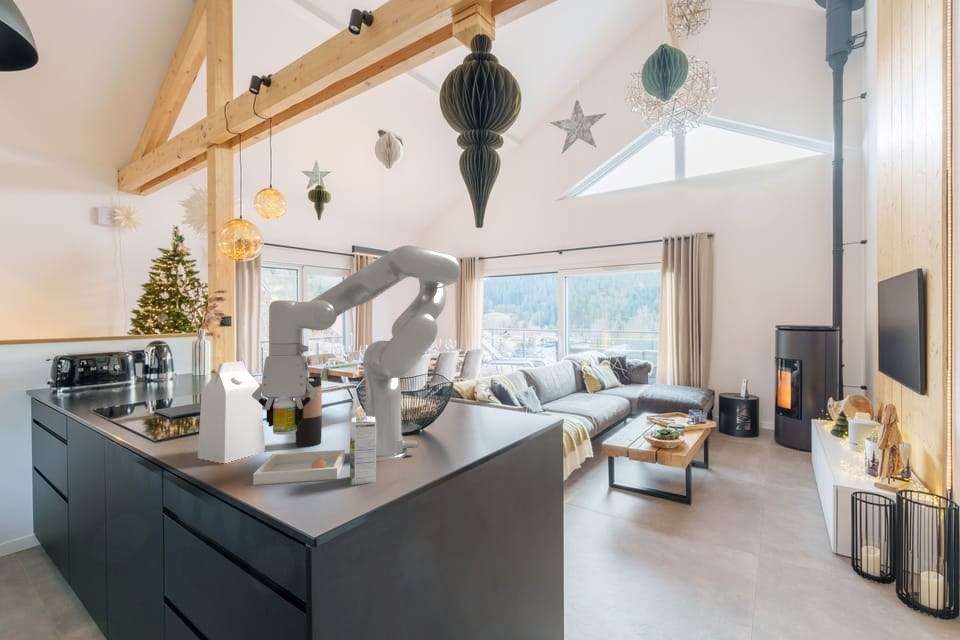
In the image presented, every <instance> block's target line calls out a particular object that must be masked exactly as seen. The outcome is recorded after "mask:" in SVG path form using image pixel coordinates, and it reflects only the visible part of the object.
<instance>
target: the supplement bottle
mask: <svg viewBox="0 0 960 640" xmlns="http://www.w3.org/2000/svg"><path fill="white" fill-rule="evenodd" d="M275 400H277V401H275V402H274V404H273V426H272V433H273V434H274V435H278V436H279V435H281V436H282V435H291V434H294V433H296V431H297V426H296V425H295V410H296V409H297V404H296V401H295V398H294V397H285V396H282V397H278V398H276V399H275Z"/></svg>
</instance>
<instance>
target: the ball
mask: <svg viewBox="0 0 960 640" xmlns="http://www.w3.org/2000/svg"><path fill="white" fill-rule="evenodd" d="M325 467H326V463H325V461H324V460H323V459H316V460H315V461H314V462H313V463H312V469H314V468H325Z"/></svg>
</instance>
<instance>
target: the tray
mask: <svg viewBox="0 0 960 640" xmlns="http://www.w3.org/2000/svg"><path fill="white" fill-rule="evenodd" d="M316 459H323V460H324V461H325V463H326V467H325V468H314V469H312V463H313V462H314V461H315V460H316ZM345 461H346V449H336V450H335V449H334V450H319V451H318V450H317V451H305V452H304V451H303V452H301V451H300V452H288V453H285V452H284V453H273V454H271V455H270V456H269V458H267V459H266V460H265V461H264V462H263V463H262V465H260V467H259V468H258V469H257V470H256V471H255V472H254V473H253V475H252V476H253V477H252V479H253V482H252V484H253V486H258V485H271V484H272V485H273V484H284V483H285V484H286V483H287V484H288V483H300V482H312V481H326V480H329V481H330V480H337V479H338V478H339V475H340V473H341V470H342V468H343V465H344V463H345Z"/></svg>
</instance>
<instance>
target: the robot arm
mask: <svg viewBox="0 0 960 640" xmlns="http://www.w3.org/2000/svg"><path fill="white" fill-rule="evenodd" d="M461 273H462V268H461V264H460V263H459V261H458V260H457V259H456V258H455V257H454V256H452V255H450V254H448V253H443V252H439V251H435V250H431V249H427V248H423V247H419V246H415V245H409V244H408V245H407V244H406V245H402V246H400V247H397V248H395V249H392V250H390V251H388V252H386V253H385V254H383V255H382V256H380V257H378V258H377V259H375V260H373V261H372V262H370V263H369V264H367V265H365V266H363V268H360V269H359V270H357V271H356V272H353V273H352V274H350V275H349V276H348V277H346V278H344V280H342V281H341V282H339V283H337V284H336V285H334V286H332V287H331V288H329V289H328V290H325V291H324V292H323V293H321V294H319V295H317V296H315V298H313V299H311V300H310V301H299V300H298V301H297V300H288V299H287V300H286V299H285V300H273V301H271V302H270V303H269V306H268V307H269V308H268V356H265V360H264V364H263V370H262V376H261V378H262V380H261V384H259V387H258V388H257V390H256V391H255V392H254V393H253V394H252V397H253V398H254V399H256V400H257V401H258V402H259V403H260V404H261V405H262V408H264V409H265V410H266V423H268V427H273V404H274V403H275V402H276V400H277V399H276V398H278V397H282V396H285V397H294V398H293V399H294V401H296V404H297V409H296V410H295V425H296V426H297V425H300V424H301V421H303V419H304V406H305V405H306V404H307V403H308V402H309V401H310V400H312V399H313V398H314V397H315V396H316V395H317V394H318V392H317V391H316V390H315V389H314V388H313V386H312V385H311V384H310V383H309V378H308V377H309V368H308V366H309V365H308V361H307V357H306V355H303V354H304V353H305V352H309V346H308V345H304V343H303V329H306V330H307V329H308V330H311V331H312V330H313V331H326V330H328V329H330V328H331V327H333V325H334V324H336V321H337V317H339V316H340V315H342V314H345V312H347V311H349V310H351V309H353V308H355V307H358V306H361V305H363V304H367V303H368V302H370V301H373V300H374V299H376V298H377V297H379V296H381V295H382V294H383V293H385V292H386V291H388V290H389V289H391V288H392V287H394V286H395V285H397V284H399V282H402V281H403V280H404V279H406V278H407V279H408V278H410V277H411V278H415V279H418V282H419V292H418V294H417V296H416V297H415V298H414V300H413V301H412V302H411V303H410V304H409V305H408V306H407V308H406V309H405V310H403V312H402V313H401V314H400V315H399V316H398V317H397V318H396V319H395V320H394V322H393V324H392V326H391V335H392V338H390V340H377V341H374V342H373V343H372V342H371V344H369V345H368V347H367V348H366V349H365V351H364V354H363V359H362V363H363V364H362V365H363V375H364V381H365V382H364V383H365V416H370V417H375V418H376V462H386V461H392V460H397V459H400V458H405V457H406V456H408V449H418V448H419V440H414V439H408V440H406V439H404V438H403V437H404V436H403V434H402V383H401V378H402V377H404V376H405V375H407V374H408V373H409V372H411V370H412V369H413V368H414V367H415V366H416V365H417V363H419V361H420V360H421V358H422V357H423V356H424V355H425V354H426V352H427V351H428V350H429V349H430V348H431V347H432V345H433V344H434V343H435V340H436V338H437V337H438V336H437V335H438V329H439V328H438V323H437V321H436V320H437V319H438V317H439V316H440V315H441V314H442V312H443V311H444V308H445V305H446V301H447V300H446V298H447V294H446V293H447V292H446V287H447V286H451V285H453V284H455V283H456V282H457V281H458V280H459V279H460V276H461ZM308 391H309V392H310V395H309V396H308V397H306V398H305V399H303V395H305V394H306V393H308ZM261 395H262V396H261Z"/></svg>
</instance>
